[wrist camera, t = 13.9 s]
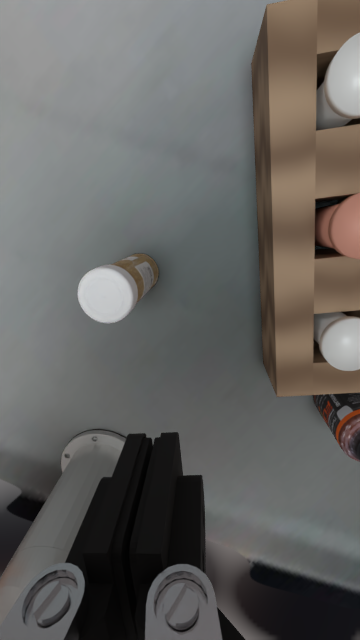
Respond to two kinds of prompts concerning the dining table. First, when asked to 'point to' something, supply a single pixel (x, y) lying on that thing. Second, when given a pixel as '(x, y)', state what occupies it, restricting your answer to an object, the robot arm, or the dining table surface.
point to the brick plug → (340, 227)
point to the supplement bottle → (342, 419)
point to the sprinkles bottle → (116, 287)
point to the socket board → (301, 191)
